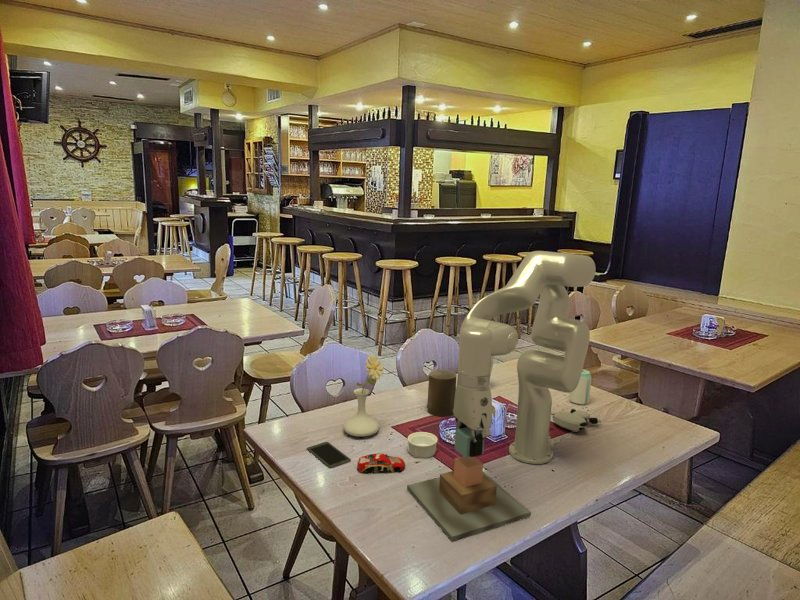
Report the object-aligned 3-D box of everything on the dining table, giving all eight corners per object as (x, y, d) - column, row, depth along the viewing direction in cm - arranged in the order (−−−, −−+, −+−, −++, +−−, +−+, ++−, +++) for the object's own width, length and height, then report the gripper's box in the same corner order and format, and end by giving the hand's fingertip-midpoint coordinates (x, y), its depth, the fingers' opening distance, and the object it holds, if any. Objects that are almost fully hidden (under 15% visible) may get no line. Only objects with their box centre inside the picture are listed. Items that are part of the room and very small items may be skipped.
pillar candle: (447, 419, 174) (449, 377, 171) (422, 412, 179) (424, 371, 176) (459, 409, 182) (461, 369, 179) (435, 403, 187) (437, 364, 184)
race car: (404, 463, 145) (404, 450, 144) (405, 474, 140) (406, 460, 139) (357, 464, 144) (357, 451, 143) (357, 474, 139) (357, 461, 138)
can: (564, 399, 193) (567, 369, 191) (579, 397, 196) (582, 367, 194) (578, 406, 187) (581, 375, 185) (592, 403, 190) (596, 373, 188)
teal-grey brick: (471, 444, 127) (472, 426, 126) (483, 453, 123) (484, 434, 122) (454, 448, 125) (455, 429, 124) (465, 458, 121) (467, 438, 120)
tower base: (478, 471, 142) (479, 450, 140) (530, 516, 122) (532, 493, 121) (407, 489, 132) (407, 467, 131) (451, 541, 113) (453, 516, 111)
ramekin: (418, 462, 146) (418, 448, 145) (401, 449, 153) (401, 435, 152) (443, 454, 151) (443, 441, 150) (425, 442, 158) (425, 429, 157)
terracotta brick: (470, 472, 129) (471, 454, 128) (482, 482, 125) (483, 464, 124) (453, 476, 127) (454, 458, 126) (464, 487, 123) (465, 468, 122)
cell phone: (327, 443, 156) (327, 441, 156) (352, 462, 145) (352, 460, 145) (305, 450, 152) (305, 447, 151) (329, 470, 141) (329, 467, 141)
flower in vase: (355, 443, 155) (355, 365, 150) (336, 429, 164) (336, 355, 159) (390, 432, 163) (392, 357, 158) (370, 419, 172) (372, 348, 167)
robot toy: (571, 416, 181) (545, 424, 172) (572, 404, 180) (546, 411, 171) (602, 429, 172) (577, 438, 162) (604, 416, 171) (579, 424, 162)
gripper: (508, 389, 115) (503, 463, 118) (466, 366, 130) (462, 432, 133) (481, 393, 111) (475, 470, 115) (441, 369, 126) (437, 437, 130)
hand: (469, 449), depth 124 cm, fingers closed on teal-grey brick, 5 cm apart
